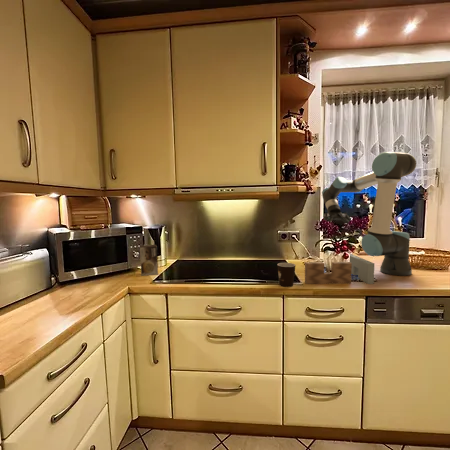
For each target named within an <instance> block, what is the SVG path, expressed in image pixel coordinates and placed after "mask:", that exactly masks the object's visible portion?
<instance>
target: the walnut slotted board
mask: <svg viewBox="0 0 450 450" xmlns="http://www.w3.org/2000/svg"><path fill="white" fill-rule="evenodd" d="M351 269H352V263H350V262H346V261H332V262H331V272H325V263H324V262H321V261H317V262H315V261H314V262H312V261H311V262H310V261H309V262H308V261H307V262H305V263H304V283H305V284H306V285H324V284H325V285H326V284H328V285H329V284H352V275H351Z"/></svg>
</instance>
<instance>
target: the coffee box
mask: <svg viewBox="0 0 450 450" xmlns="http://www.w3.org/2000/svg"><path fill="white" fill-rule="evenodd" d="M139 254H140V255H139V256H140V257H139V258H140V273H141V274H140V276H141V277H145V276H154V275H158V274H159V270H158V269H159V268H158V246H157V244H144V245H143V244H142V245H141V244H140V245H139Z"/></svg>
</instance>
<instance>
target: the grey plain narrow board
mask: <svg viewBox="0 0 450 450" xmlns="http://www.w3.org/2000/svg"><path fill="white" fill-rule="evenodd" d="M349 254H350V263H352V269H351V274H353V275H358V276H357V278H360V279H361V280H360V279H359V280H360V281H362V280H363V281H362V282H364V283H365V284H368V285H371V284H372V285H373V284H375V263H374V262H372V261H369V260H367V259H365V258H362V257H360V256H357V255H354V254H352V253H349ZM353 275H352V276H353Z"/></svg>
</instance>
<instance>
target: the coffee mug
mask: <svg viewBox="0 0 450 450" xmlns="http://www.w3.org/2000/svg"><path fill="white" fill-rule="evenodd" d="M295 271H296V264H295V263H291V262H279V263H277V273H278V283H279V286H280V287H284V288H291V287H294V280H295V273H296V272H295Z"/></svg>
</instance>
